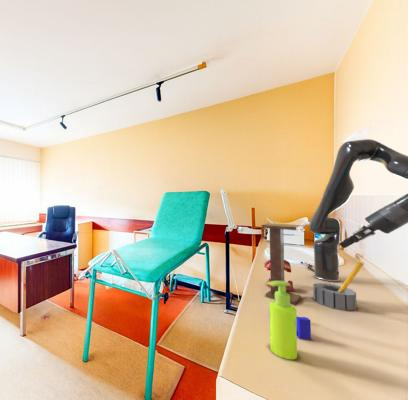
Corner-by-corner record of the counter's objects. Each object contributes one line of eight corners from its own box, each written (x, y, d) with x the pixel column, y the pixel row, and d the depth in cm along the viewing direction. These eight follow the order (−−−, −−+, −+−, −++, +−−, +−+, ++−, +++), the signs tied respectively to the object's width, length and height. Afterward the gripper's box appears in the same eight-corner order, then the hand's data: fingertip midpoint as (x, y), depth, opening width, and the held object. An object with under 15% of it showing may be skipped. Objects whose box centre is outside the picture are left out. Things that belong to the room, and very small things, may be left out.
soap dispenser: (261, 345, 63) (260, 278, 63) (283, 344, 64) (282, 277, 64) (279, 360, 57) (278, 286, 58) (303, 358, 58) (301, 285, 58)
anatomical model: (271, 289, 100) (267, 257, 106) (266, 290, 107) (263, 259, 113) (299, 293, 96) (294, 259, 102) (292, 293, 103) (288, 261, 108)
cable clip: (272, 317, 78) (272, 301, 78) (286, 318, 78) (286, 302, 78) (294, 337, 67) (293, 318, 67) (310, 339, 66) (310, 320, 66)
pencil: (335, 303, 88) (330, 301, 89) (335, 302, 89) (330, 300, 90) (364, 263, 81) (359, 261, 82) (364, 262, 82) (359, 260, 83)
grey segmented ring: (309, 294, 97) (309, 281, 97) (347, 300, 91) (347, 286, 91) (319, 306, 86) (319, 291, 86) (362, 313, 80) (362, 297, 80)
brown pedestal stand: (263, 295, 96) (261, 224, 96) (271, 290, 102) (269, 223, 102) (297, 306, 86) (296, 227, 87) (304, 299, 92) (302, 225, 92)
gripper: (379, 209, 83) (337, 235, 92) (376, 211, 75) (330, 239, 84) (402, 224, 79) (356, 249, 88) (402, 227, 70) (350, 255, 80)
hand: (343, 244), depth 86 cm, fingers open, 8 cm apart
